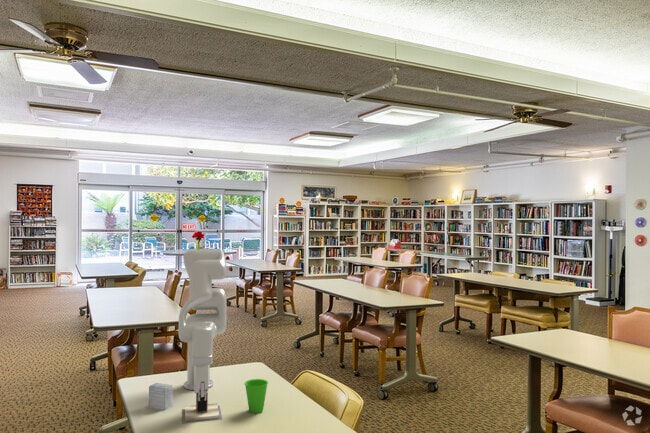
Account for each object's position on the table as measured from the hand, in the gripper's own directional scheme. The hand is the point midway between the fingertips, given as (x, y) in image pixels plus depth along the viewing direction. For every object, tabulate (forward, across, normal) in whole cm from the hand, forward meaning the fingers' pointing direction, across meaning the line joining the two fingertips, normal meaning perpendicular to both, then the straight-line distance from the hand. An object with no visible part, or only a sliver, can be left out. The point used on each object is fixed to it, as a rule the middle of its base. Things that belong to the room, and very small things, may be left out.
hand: (201, 408), depth 180 cm
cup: (+3, +2, +20) cm, 20 cm away
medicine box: (+3, -12, -15) cm, 19 cm away
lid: (+2, 0, 0) cm, 2 cm away
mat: (+2, 0, 0) cm, 3 cm away
